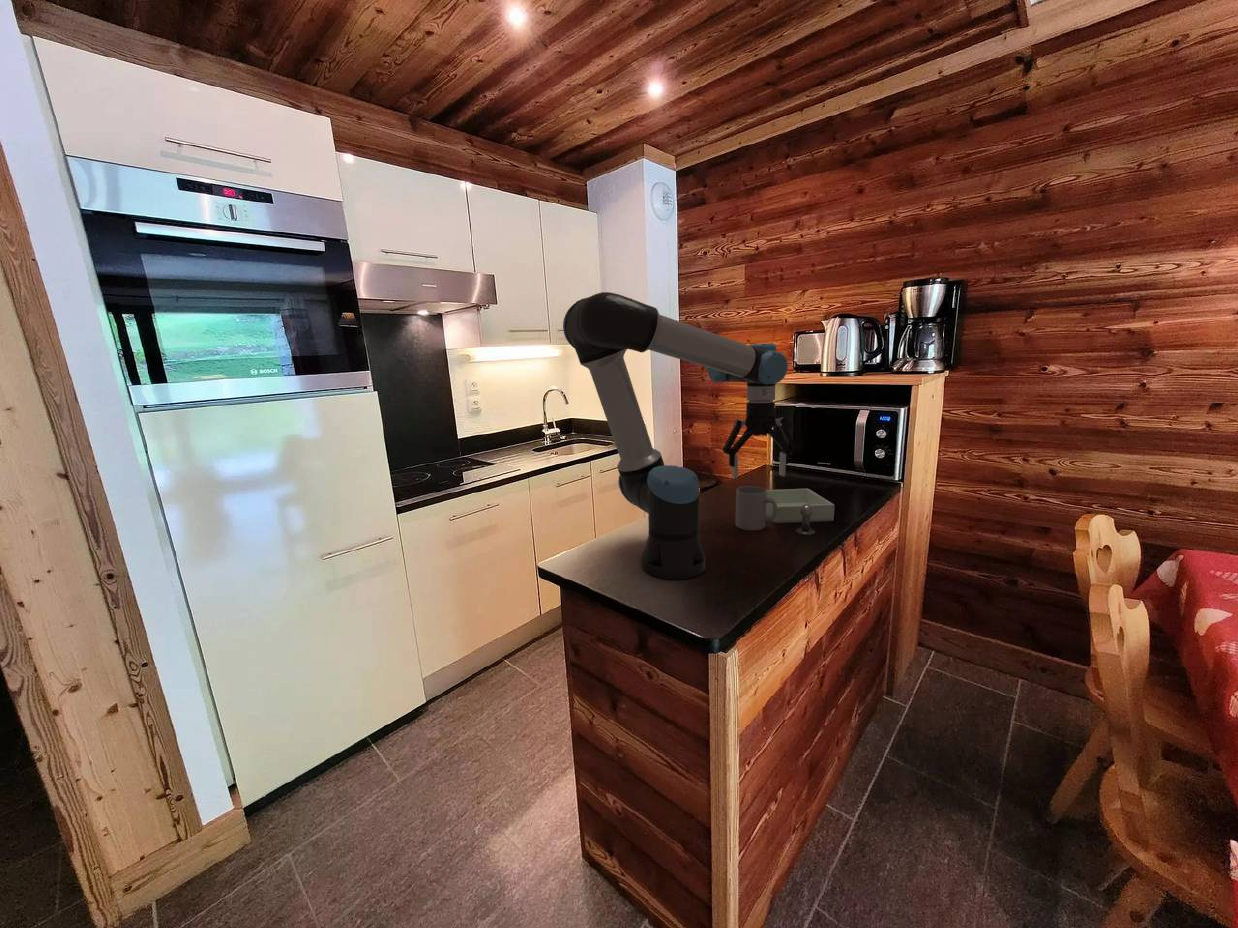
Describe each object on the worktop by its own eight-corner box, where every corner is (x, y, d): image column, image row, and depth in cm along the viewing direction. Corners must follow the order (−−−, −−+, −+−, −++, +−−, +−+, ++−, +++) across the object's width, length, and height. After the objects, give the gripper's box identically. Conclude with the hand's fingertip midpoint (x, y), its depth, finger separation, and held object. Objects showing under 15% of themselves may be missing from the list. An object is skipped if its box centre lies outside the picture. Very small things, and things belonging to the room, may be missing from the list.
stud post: (800, 535, 131) (801, 507, 130) (792, 529, 136) (794, 502, 134) (818, 535, 131) (819, 506, 130) (810, 528, 136) (811, 501, 135)
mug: (730, 526, 140) (731, 490, 137) (742, 518, 146) (744, 484, 144) (770, 535, 132) (771, 497, 130) (781, 526, 139) (783, 490, 136)
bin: (773, 523, 141) (774, 507, 140) (754, 505, 159) (754, 490, 158) (833, 520, 142) (834, 504, 141) (807, 502, 160) (808, 488, 159)
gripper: (719, 404, 127) (718, 481, 132) (811, 400, 128) (807, 477, 133) (712, 402, 134) (711, 475, 139) (799, 398, 135) (796, 471, 140)
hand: (758, 476), depth 136 cm, fingers open, 13 cm apart
